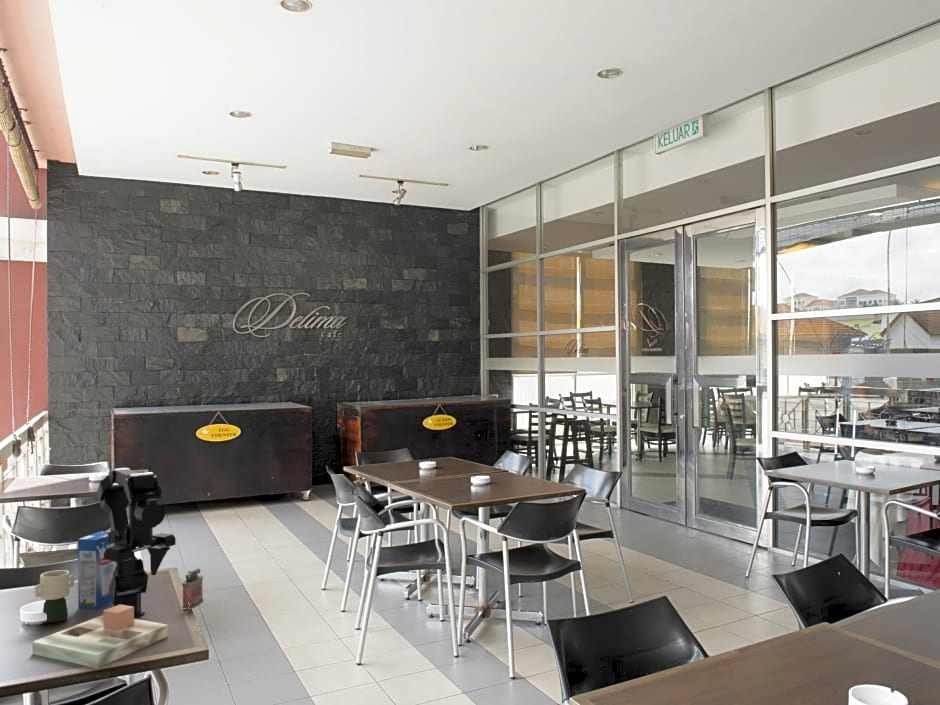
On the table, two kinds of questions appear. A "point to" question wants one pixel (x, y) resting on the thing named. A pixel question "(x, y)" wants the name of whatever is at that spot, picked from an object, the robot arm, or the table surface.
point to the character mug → (54, 593)
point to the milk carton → (94, 571)
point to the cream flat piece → (98, 642)
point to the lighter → (192, 589)
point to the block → (118, 617)
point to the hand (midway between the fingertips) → (141, 579)
